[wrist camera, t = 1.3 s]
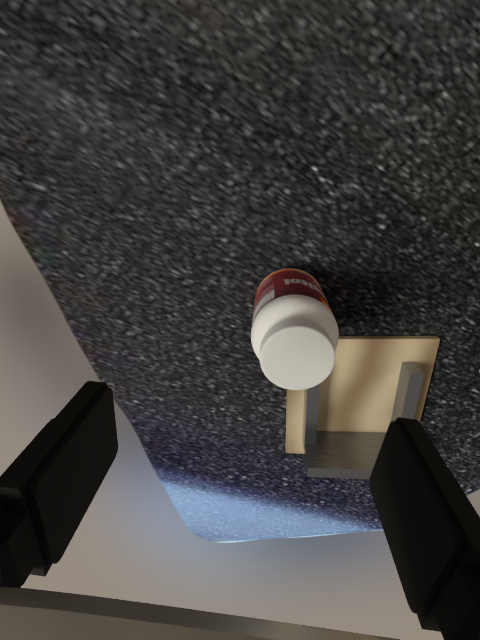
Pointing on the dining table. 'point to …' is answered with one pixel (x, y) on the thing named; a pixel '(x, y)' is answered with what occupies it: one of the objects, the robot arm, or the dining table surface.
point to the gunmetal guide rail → (353, 433)
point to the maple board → (362, 385)
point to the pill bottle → (293, 330)
